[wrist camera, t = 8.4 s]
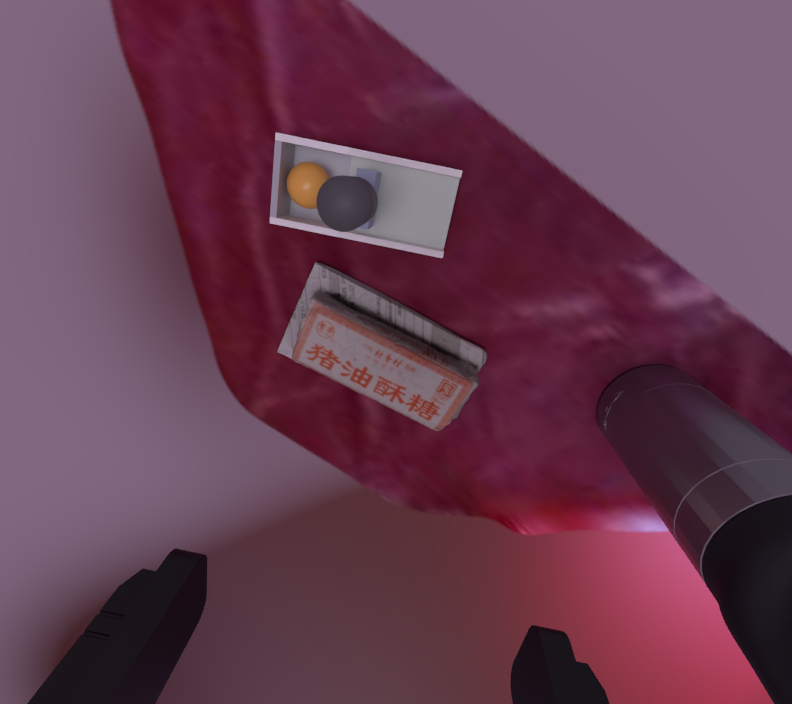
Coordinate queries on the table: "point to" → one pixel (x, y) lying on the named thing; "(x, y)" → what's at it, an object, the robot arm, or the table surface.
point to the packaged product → (381, 348)
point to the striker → (349, 200)
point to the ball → (306, 183)
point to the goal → (285, 158)
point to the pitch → (407, 203)
